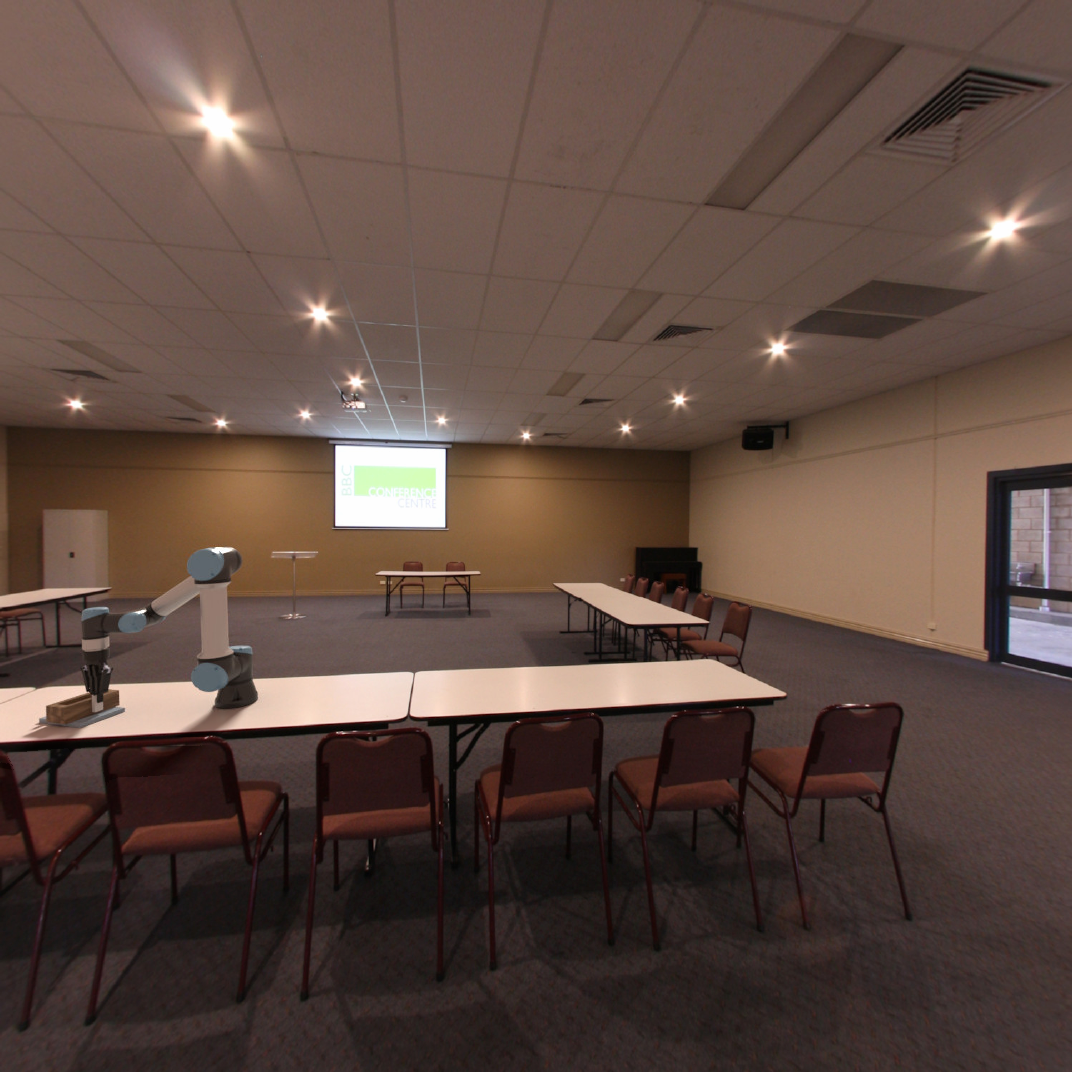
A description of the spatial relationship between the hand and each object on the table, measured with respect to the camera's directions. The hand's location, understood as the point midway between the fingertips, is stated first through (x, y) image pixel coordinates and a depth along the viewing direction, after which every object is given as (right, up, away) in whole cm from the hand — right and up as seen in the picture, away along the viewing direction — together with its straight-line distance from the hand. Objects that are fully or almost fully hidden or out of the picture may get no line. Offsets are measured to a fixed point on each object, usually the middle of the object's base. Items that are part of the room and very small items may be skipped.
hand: (97, 710), depth 176 cm
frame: (-6, -2, +2) cm, 7 cm away
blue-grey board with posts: (-7, -3, +2) cm, 8 cm away
